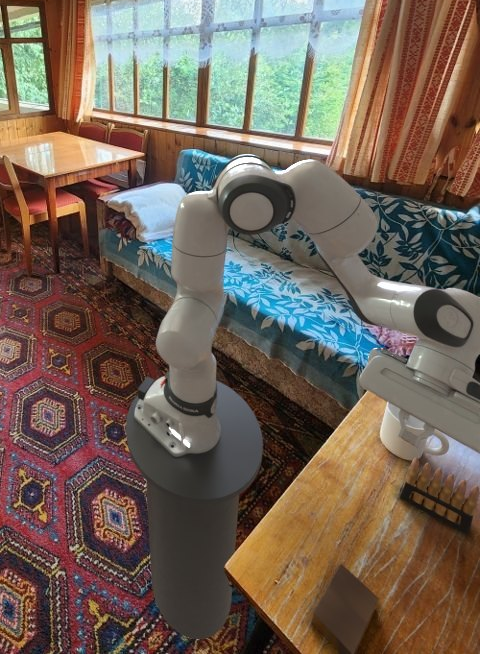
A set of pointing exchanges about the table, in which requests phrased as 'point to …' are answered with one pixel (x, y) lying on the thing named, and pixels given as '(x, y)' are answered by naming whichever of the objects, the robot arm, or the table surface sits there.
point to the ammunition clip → (440, 496)
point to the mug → (402, 447)
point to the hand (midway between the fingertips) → (407, 442)
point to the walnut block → (345, 611)
